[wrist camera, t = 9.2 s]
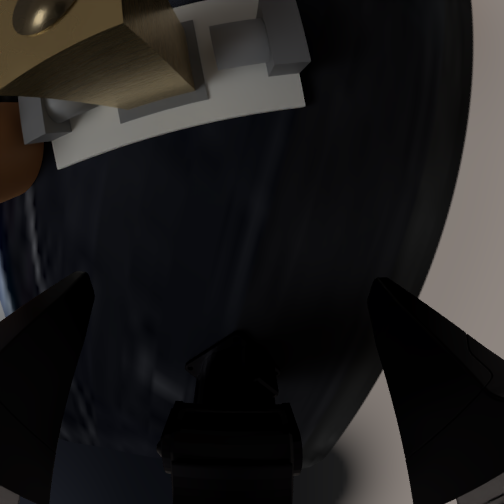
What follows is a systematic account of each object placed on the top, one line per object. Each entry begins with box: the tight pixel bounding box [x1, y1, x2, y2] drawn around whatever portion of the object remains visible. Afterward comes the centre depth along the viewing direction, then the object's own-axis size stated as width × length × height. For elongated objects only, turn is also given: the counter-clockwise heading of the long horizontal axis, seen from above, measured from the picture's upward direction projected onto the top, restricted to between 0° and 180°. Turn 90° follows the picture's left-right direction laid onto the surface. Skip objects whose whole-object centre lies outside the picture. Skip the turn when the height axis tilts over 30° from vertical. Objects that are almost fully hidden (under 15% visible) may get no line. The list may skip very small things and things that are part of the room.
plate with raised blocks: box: [18, 0, 311, 170], centre depth 15 cm, size 18×9×4 cm, turn 100°
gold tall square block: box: [0, 0, 195, 110], centre depth 10 cm, size 5×5×13 cm
